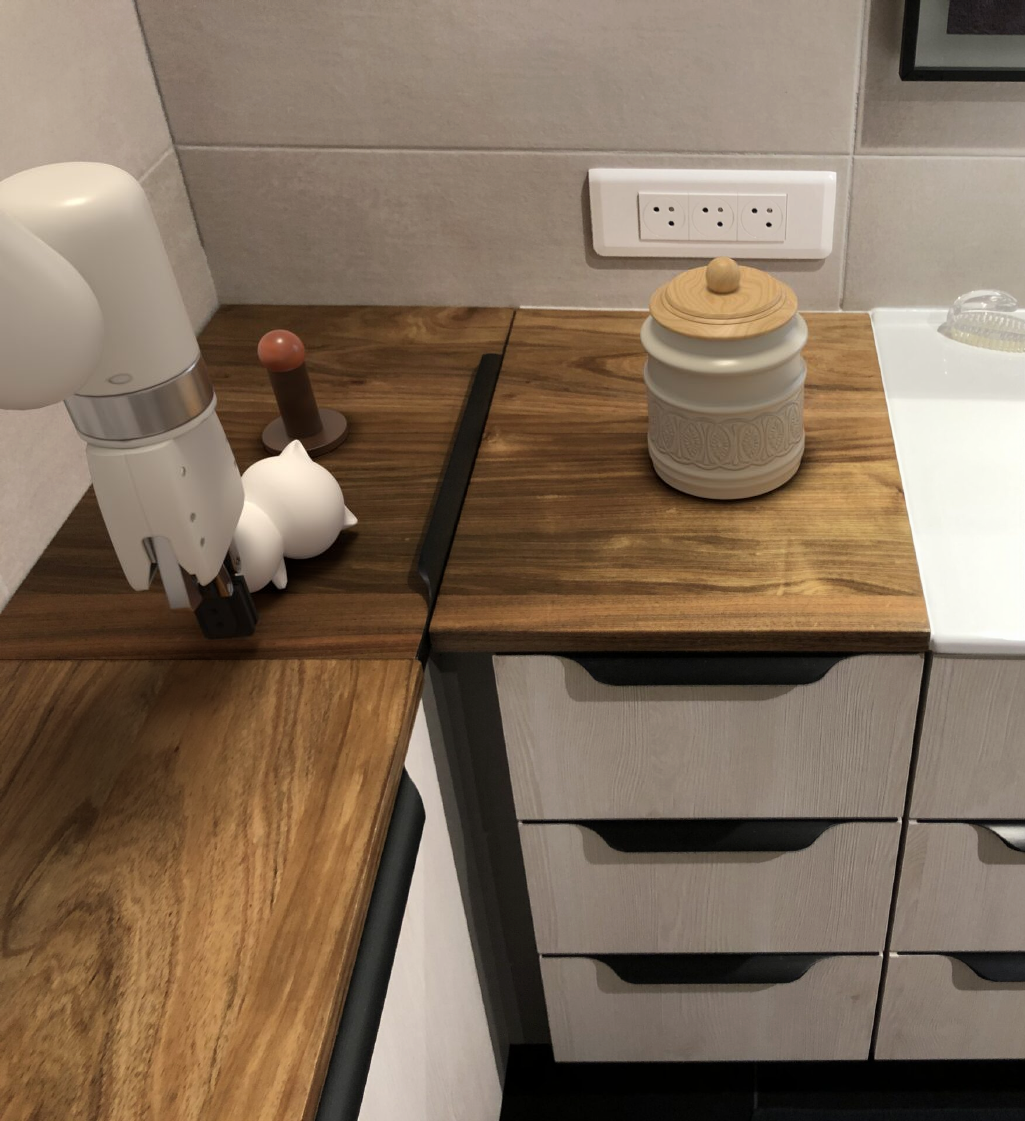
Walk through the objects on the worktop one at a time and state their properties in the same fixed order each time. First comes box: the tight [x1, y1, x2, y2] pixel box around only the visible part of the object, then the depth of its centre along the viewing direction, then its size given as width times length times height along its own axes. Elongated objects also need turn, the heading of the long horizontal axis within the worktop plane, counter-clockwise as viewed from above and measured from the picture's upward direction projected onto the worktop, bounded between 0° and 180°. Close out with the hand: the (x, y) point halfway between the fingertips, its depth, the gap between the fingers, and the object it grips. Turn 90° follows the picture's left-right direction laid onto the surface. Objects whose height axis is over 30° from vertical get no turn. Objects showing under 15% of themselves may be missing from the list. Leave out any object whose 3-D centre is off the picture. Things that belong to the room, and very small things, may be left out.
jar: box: [639, 256, 809, 500], centre depth 89 cm, size 13×13×18 cm
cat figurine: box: [234, 440, 359, 594], centre depth 82 cm, size 9×11×12 cm
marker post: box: [257, 329, 350, 459], centre depth 94 cm, size 7×7×10 cm
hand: (232, 629), depth 76 cm, fingers closed
